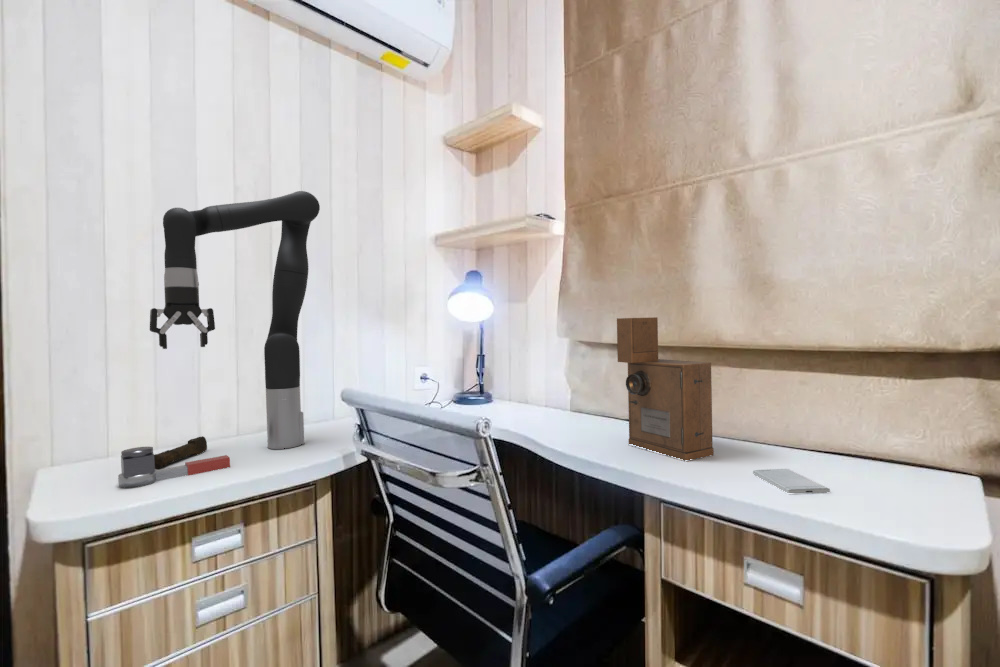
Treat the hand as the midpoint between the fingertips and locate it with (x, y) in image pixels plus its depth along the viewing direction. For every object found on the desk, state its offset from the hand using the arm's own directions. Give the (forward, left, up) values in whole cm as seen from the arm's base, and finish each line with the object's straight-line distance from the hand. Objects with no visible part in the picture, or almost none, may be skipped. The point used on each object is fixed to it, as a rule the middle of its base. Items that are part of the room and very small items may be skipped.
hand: (184, 347), depth 128 cm
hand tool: (+1, -5, -30) cm, 31 cm away
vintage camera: (-93, +85, -30) cm, 130 cm away
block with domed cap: (+12, +13, -28) cm, 33 cm away
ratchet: (+5, +13, -30) cm, 33 cm away
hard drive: (-86, +117, -31) cm, 148 cm away
